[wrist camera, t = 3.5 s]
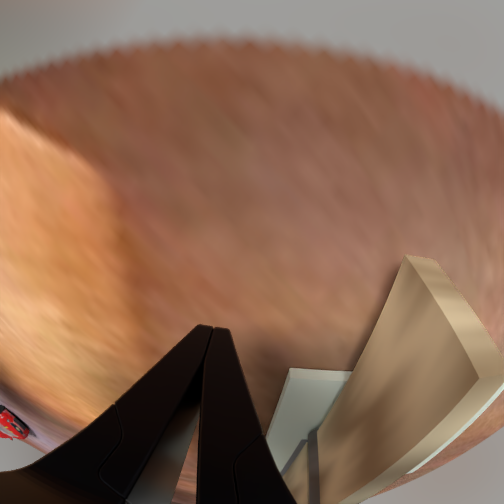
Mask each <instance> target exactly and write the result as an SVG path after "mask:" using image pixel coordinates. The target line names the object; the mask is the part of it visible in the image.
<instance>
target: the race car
mask: <svg viewBox="0 0 504 504" xmlns="http://www.w3.org/2000/svg"><path fill="white" fill-rule="evenodd" d="M28 434H29V429H28V428H27V427H25V426H24V425H23V424H22V423H21V422H20V421H19V420H18V419H16V418H15V417H14V416H13V415H12V414H11V413H9V412H8V409H7V408H6V407H5V406H2V405H0V437H1V438H10V439H11V440H13V439H12V437H13V438H18V439H25V438H26V437H27V436H28Z"/></svg>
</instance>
